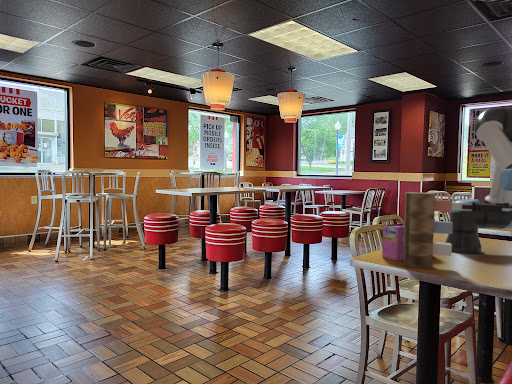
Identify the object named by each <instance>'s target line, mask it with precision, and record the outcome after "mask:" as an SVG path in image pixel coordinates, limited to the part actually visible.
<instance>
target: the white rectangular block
mask: <svg viewBox="0 0 512 384" xmlns="http://www.w3.org/2000/svg"><path fill="white" fill-rule="evenodd" d="M452 252H453V251H452V245H451V244H450V243H445V242H441V241H440V242H437V241H433V255H435V256H436V255H437V256H448V257H451V256H452Z"/></svg>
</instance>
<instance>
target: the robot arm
mask: <svg viewBox="0 0 512 384" xmlns="http://www.w3.org/2000/svg"><path fill="white" fill-rule="evenodd" d="M473 132H474V134H475V136H476V138H477V140H479V141H481V142H483V143H484V145H485V147H486V148H487V150H488V151H489V153H490V155H491V157H492V158H493V160H494V162H495V167H494V170H493V171H494V172H493V176H492V182H491V186H490V190H489V191H490V192H489V194H488V195H487V196H485V197H484V201H483V202H481V201H480V200H479V199H478V198H477V199H474V198H471V199H470V198H469V199H468V198H467V199H458V200H453V201H451V212H449V222H452V223H453V229H452V234H447V237H446V239H445V242H444V243H450V244H451V245H452V251H451V252H454V253H460V254H461V253H462V254H481V253H482V249H483V246H482V244H481V241H480V238H479V229H494V230H508V229H509V230H510V229H511V228H512V106H511V107H510V106H507V107H506V106H504V107H501V106H500V107H497V106H495V107H490V108H487V109H485V110H484V111H482V112H481V113H479V115H478V116H476V118H475V121H474V124H473Z"/></svg>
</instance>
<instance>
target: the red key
mask: <svg viewBox="0 0 512 384" xmlns="http://www.w3.org/2000/svg"><path fill="white" fill-rule="evenodd" d="M451 202H452V200H451V199H450V200H449V199H435V209H434V212H446V213H447V212H448V213H450V212H451Z"/></svg>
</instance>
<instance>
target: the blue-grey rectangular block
mask: <svg viewBox="0 0 512 384" xmlns="http://www.w3.org/2000/svg"><path fill="white" fill-rule="evenodd" d="M452 229H453V223H452V222H450V221H444V220H443V221H442V220H434V233H433V234H447V235H448V234H452Z"/></svg>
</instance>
